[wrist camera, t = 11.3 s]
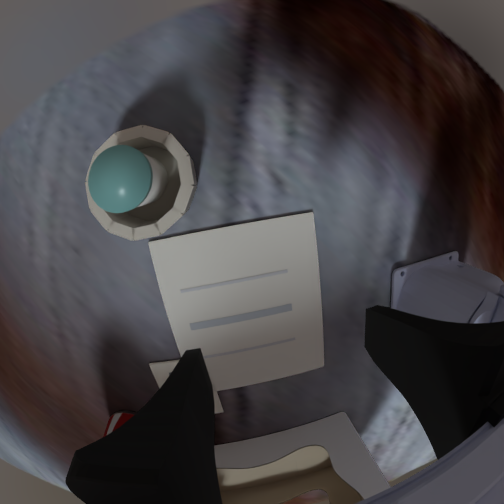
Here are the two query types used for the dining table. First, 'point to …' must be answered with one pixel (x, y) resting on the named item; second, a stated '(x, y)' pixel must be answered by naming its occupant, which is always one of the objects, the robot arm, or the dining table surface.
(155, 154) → the pen cup
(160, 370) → the word card
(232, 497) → the gable box
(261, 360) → the paper
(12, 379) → the dining table surface
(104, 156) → the marker
